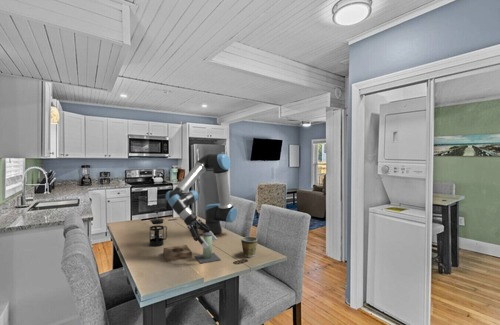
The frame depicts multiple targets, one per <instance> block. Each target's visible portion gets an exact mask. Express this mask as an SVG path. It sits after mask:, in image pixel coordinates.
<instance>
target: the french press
mask: <svg viewBox="0 0 500 325" xmlns="http://www.w3.org/2000/svg"><path fill="white" fill-rule="evenodd" d="M153 212H154V213H156V215H158V214H159V213H160V212H161V210H154V211H153ZM164 221H165V219H164V218H151V219H149V222H151V224H152V226H149V231H154V233H152V234H149V243H148V246H149V247H151V248H153V247H154V248H156V247H161V246H164V243H165V242H164V240H167V236H168V235H167V234H168V232H167V229H168V227H167V226H165V225H161V224H164ZM164 229H165V233H164ZM160 231H162V233H160ZM164 234H165V235H164ZM164 236H165V238H164Z"/></svg>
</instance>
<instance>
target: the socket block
mask: <svg viewBox="0 0 500 325" xmlns="http://www.w3.org/2000/svg"><path fill="white" fill-rule="evenodd" d="M163 255H164V257H165V261H166V262H175V261H181V260H186V259H192V258H193V251H192V250H191V248H189V246H188V245H187V244H183V245H176V246H170V247H168V246H167V247H163Z"/></svg>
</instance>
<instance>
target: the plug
mask: <svg viewBox="0 0 500 325" xmlns="http://www.w3.org/2000/svg"><path fill="white" fill-rule="evenodd" d="M202 238H203V239H204V241H205V242H206V243H207V244H208V245H209V246H208V247H207V248H206V249H204V247H203V246H202V255H203V258H204V259H210V258H212V253H213V248H212V247H213V246H212V245H213V241H212V233H209V232H207V233H203V237H202Z"/></svg>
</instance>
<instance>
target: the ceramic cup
mask: <svg viewBox="0 0 500 325" xmlns="http://www.w3.org/2000/svg"><path fill="white" fill-rule="evenodd" d="M240 240H241V241H240V242H241V245H242V254H243V257H245V258H253V257H255V255H256V250H257V246H258V238H257V237H254V236H243V237H241V238H240Z"/></svg>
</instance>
